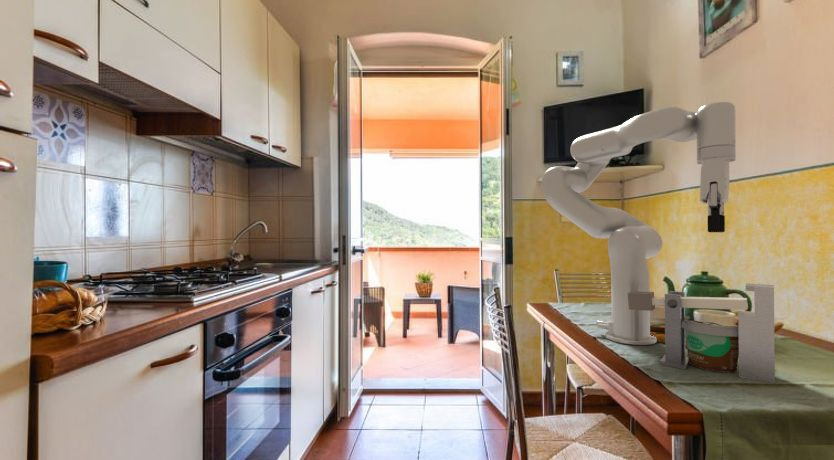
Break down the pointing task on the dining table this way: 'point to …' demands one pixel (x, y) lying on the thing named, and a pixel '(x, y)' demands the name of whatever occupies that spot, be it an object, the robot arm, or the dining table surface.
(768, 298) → the post
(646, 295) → the beige long bar
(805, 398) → the dining table surface
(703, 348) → the food container
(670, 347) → the hinge post
